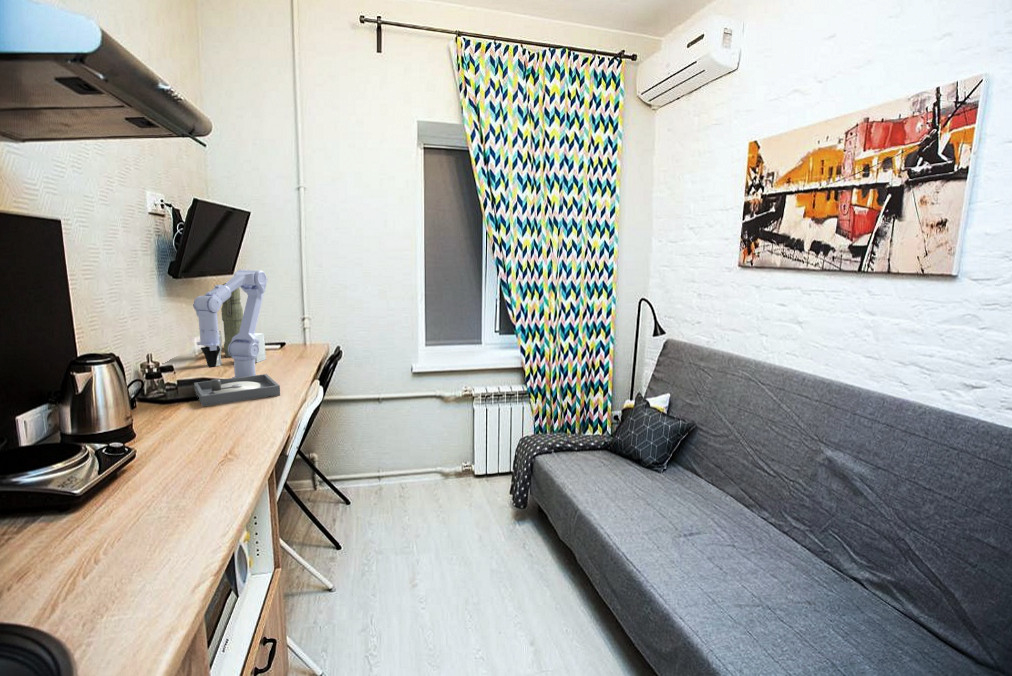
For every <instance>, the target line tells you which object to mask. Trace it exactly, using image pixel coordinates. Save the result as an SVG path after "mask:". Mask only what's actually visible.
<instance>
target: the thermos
mask: <svg viewBox="0 0 1012 676" xmlns="http://www.w3.org/2000/svg"><path fill="white" fill-rule="evenodd" d="M226 283H227V282H225V283H222V285H225V284H226ZM220 309H221V310H220V311H221V320H222V322H223V333H224V335H223V336H224V342H223V350H224V351H223V352H224V356H225V358H232V356H230V355H229V353H228V346H229V344H230V343H231V341H232V337H234V336H235V335H237V334H238V333H239V331H240V327H241V323H242V319H243V314H244V310H243V307H242V304H241V288H240V287H239V288H238V289H236V290H234V291H233V292H231V297H230V298H229V299H227V300H226V301H225V302H223V303H222V305H221V307H220Z"/></svg>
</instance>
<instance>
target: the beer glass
mask: <svg viewBox="0 0 1012 676" xmlns="http://www.w3.org/2000/svg"><path fill="white" fill-rule="evenodd" d="M218 332H219V341H220V344H219V345H217V346H219V348H220V352H219V354H218V357H217V363H216V367H219V366H222V365H223V361H222V360H223V359H222V350H223V349H222V347H223V339H222V338H223V337H222V332H221V330H218ZM203 347H206V346H203ZM206 366H207V367H208V365H207V364H206Z"/></svg>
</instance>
